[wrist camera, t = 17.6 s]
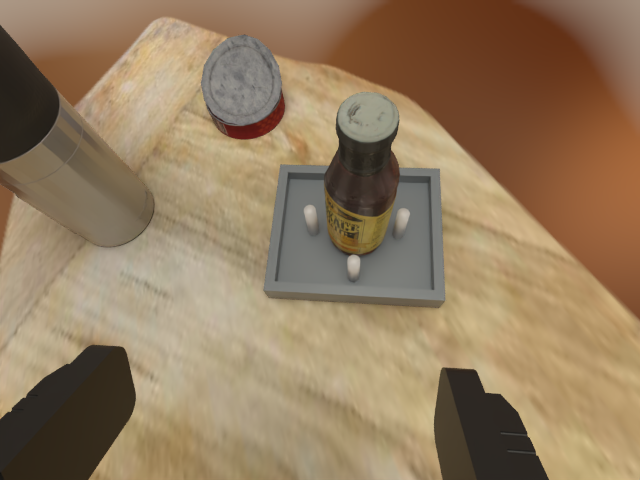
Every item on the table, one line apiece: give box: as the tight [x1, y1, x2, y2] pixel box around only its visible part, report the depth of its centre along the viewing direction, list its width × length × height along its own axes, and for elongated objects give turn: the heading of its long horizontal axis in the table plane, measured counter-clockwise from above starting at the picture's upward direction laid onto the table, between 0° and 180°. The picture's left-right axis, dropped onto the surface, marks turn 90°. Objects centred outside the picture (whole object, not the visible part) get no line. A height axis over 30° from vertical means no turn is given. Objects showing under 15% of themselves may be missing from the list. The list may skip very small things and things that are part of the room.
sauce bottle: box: [324, 92, 400, 256], centre depth 35 cm, size 6×6×20 cm
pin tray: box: [264, 165, 445, 308], centre depth 42 cm, size 18×15×6 cm
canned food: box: [201, 35, 285, 139], centre depth 51 cm, size 11×10×10 cm
